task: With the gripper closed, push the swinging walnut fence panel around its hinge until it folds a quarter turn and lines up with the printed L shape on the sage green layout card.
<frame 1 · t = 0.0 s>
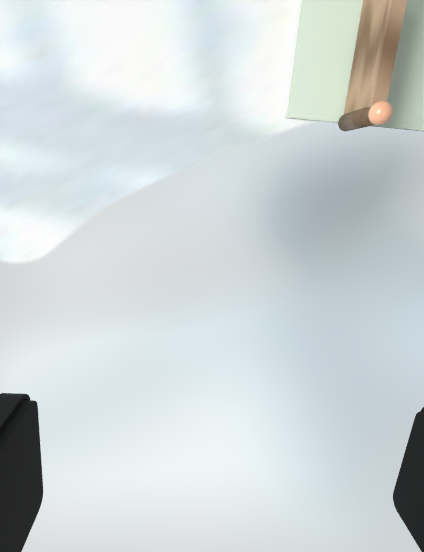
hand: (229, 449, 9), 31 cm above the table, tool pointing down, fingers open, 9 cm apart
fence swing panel: (375, 55, 31), point 4 cm above the table, hinge at 0.0°
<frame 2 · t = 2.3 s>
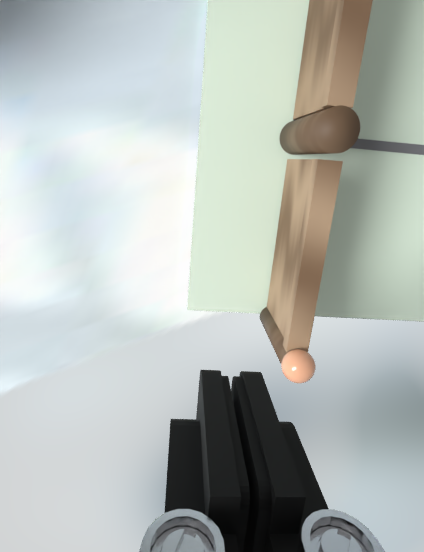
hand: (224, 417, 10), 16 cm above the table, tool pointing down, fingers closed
layout card: (352, 152, 23), on the table
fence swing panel: (296, 265, 21), point 4 cm above the table, hinge at 0.0°
fence fixed section: (295, 137, 23), resting on layout card
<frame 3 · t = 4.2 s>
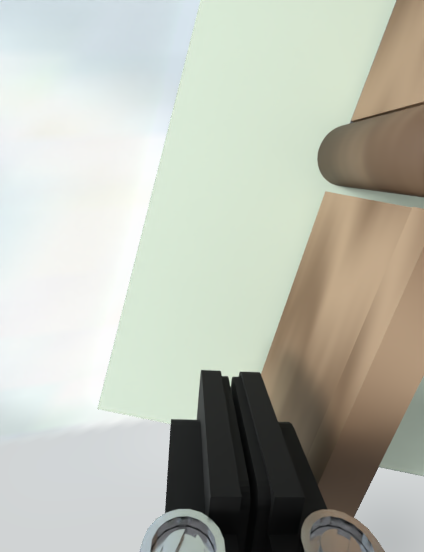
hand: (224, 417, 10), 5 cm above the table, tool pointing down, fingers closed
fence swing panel: (315, 403, 10), point 4 cm above the table, hinge at 1.6°, touching gripper
fence fixed section: (346, 156, 12), resting on layout card
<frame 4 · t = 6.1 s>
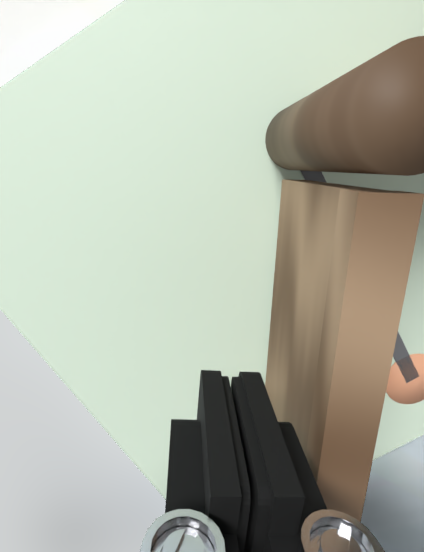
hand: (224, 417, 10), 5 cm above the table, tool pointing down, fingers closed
layout card: (327, 244, 14), on the table
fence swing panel: (311, 395, 10), point 4 cm above the table, hinge at 57.5°, touching gripper
fence fixed section: (294, 138, 12), resting on layout card
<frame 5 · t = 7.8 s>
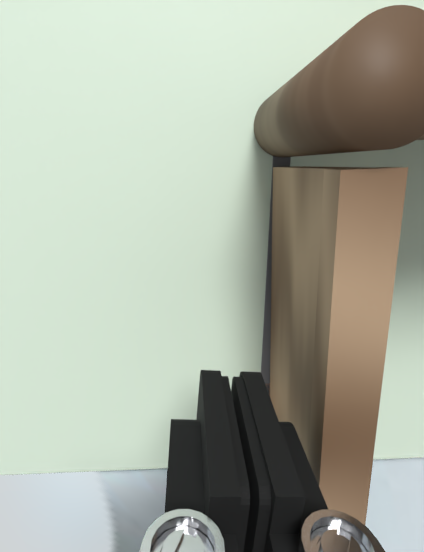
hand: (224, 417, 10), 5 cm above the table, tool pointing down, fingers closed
layout card: (260, 241, 13), on the table
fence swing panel: (313, 381, 10), point 4 cm above the table, hinge at 92.6°, touching gripper
fence fixed section: (283, 125, 12), resting on layout card
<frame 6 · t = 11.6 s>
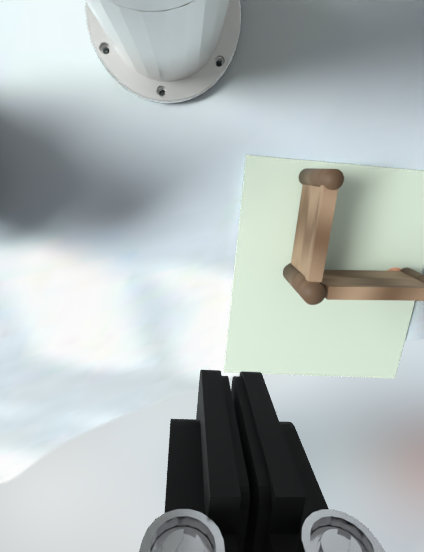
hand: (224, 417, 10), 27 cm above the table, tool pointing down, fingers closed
layout card: (327, 277, 38), on the table
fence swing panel: (378, 285, 34), point 4 cm above the table, hinge at 92.6°
fence fixed section: (292, 272, 37), resting on layout card
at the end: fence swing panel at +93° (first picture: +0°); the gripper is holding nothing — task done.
